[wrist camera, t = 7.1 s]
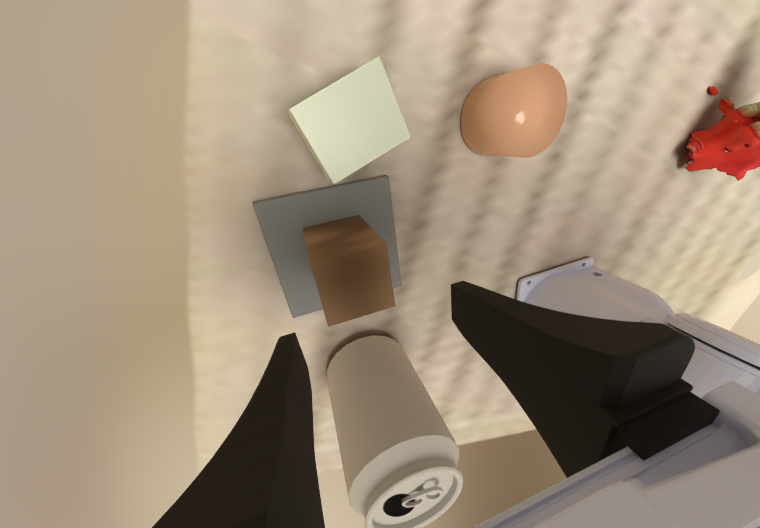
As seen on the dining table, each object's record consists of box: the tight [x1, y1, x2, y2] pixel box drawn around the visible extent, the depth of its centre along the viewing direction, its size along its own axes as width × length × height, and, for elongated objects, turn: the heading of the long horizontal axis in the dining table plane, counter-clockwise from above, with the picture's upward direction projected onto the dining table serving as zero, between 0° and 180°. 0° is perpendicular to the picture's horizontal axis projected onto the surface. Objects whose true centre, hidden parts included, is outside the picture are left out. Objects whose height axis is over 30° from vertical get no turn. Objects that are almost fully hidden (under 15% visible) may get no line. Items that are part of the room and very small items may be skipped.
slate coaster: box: [253, 175, 401, 318], centre depth 20 cm, size 9×9×1 cm
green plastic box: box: [288, 56, 411, 184], centre depth 16 cm, size 5×4×4 cm
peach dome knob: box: [461, 64, 567, 157], centre depth 19 cm, size 5×5×4 cm
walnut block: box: [303, 215, 395, 327], centre depth 17 cm, size 4×4×6 cm
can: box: [327, 335, 463, 528], centre depth 21 cm, size 8×8×12 cm
